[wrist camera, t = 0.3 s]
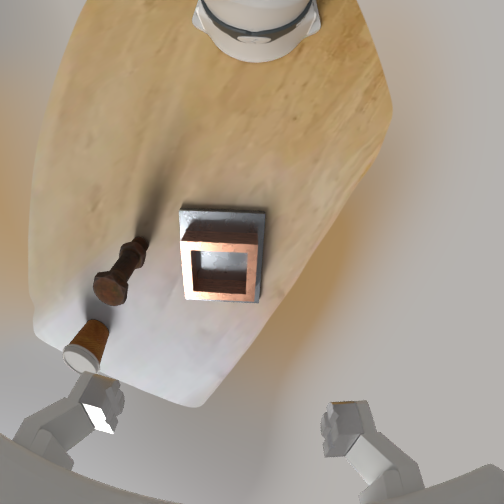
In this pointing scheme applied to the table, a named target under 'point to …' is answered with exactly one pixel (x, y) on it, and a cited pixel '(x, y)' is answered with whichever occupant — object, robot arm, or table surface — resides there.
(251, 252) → the socket
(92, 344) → the disposable coffee cup
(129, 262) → the bolt
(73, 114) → the table surface
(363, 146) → the table surface
